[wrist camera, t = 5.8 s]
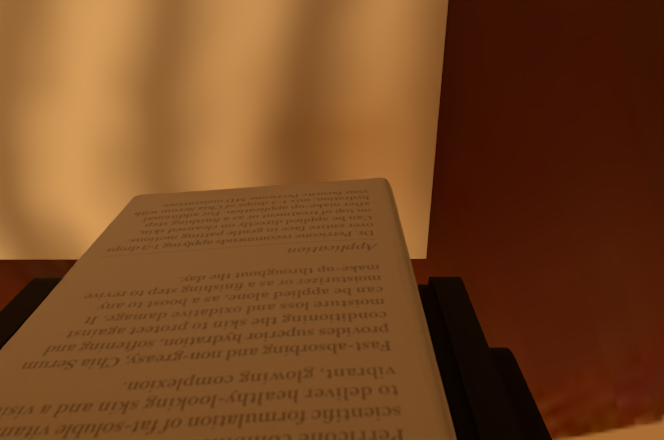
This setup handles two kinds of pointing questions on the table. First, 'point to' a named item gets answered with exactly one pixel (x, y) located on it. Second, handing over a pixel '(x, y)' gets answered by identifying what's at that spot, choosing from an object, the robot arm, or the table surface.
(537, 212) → the table surface
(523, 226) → the table surface
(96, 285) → the skincare box
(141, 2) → the board
